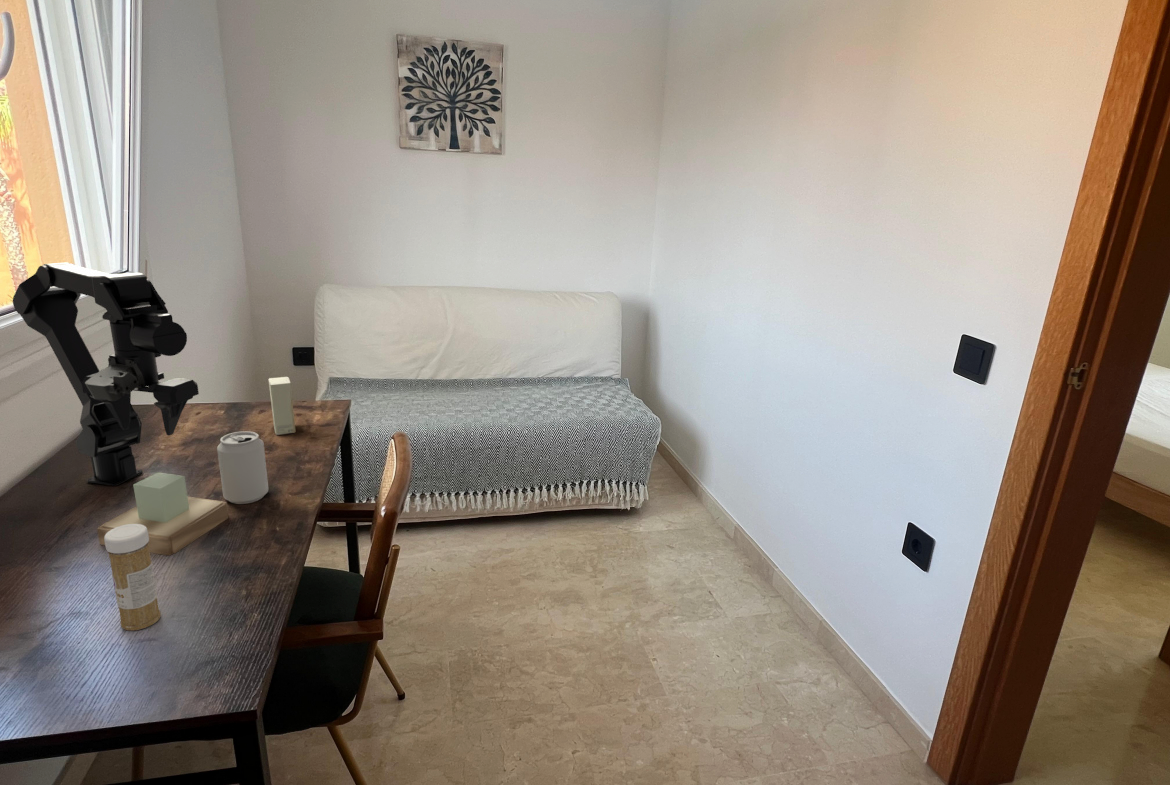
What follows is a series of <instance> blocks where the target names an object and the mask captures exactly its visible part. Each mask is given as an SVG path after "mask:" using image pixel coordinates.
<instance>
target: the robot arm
mask: <svg viewBox="0 0 1170 785" xmlns="http://www.w3.org/2000/svg"><path fill="white" fill-rule="evenodd" d="M81 295H85V296H88V297H92V298H93V299H94V303H95V304H97V305H98V306H99V307H102V308H104V309H105V310H106V311H105V312H104V313H103V315H102V317H101V318H102V319H103V320H104V321H105V320H106V321H109V327H110V331H111V332H110V334H111V338H112V344H113V350H114V354H110V355H108V359H107V362H108V364H107V365H108V366H107V367H105V368H103V369H101V370H100V369H99V368H98V365H97V363H96V362H95V359H94V358H93V356H92V354H91V353H90V351H89V349H88V346H87V345H86V343H85V341H84V340H83V337H82V336H81V334H80V331H79V330H78V328H77V326H76V323H77V322H76V321H77V317H78V314H79V309H78V306H77V302H78V301H79V299H80V297H81ZM12 304H13V307H14V310H15V312H17V314H19V315H20V317H21V318H22V319H23V321H24V322H25V324H26V325H27V327H29V328H30V329H32V330H34V331H36V332H37V333H38V334H41V335H42V336H44V337H45V339H46V340H47V341H48V344H49V346H50V347H51V349H52V351H53V353H54V355H55V357H56V359H57V360H58V363H59V364H60V367H61V368H62V370H63V372H64V373H65V375H66V377H67V379H68V381H69V382H70V384H71V386H72V388H73V390H74V392H75V393H76V396H77V398H78V400H79V401H80V403H81V406H82V409H81V415H80V419H79V423H80V426H81V428H82V430H81V431H80V433H79V435H78V437H77V438H76V440H75V446H76V448H77V450H78V452H79V453H80V454H82V455H86V456H88V457H90V461H91V468H92V471H93V476H92V477H91V476H90V477H89V478H87V479H86V482H87V483H93V484H97V485H106V486H113V487H116V486H118V485H121V484H123V483H125V482H126V481H129V480H131V479H134V478H135V477H138V476H140V475H141V474H143V470H142V469H137V466H136V461H135V460H136V459H135V454H133V450H132V446H133V445H138V444H140V443H141V436H142V426H143V424H142V421H141V418H140V417H139V414H138V413H137V412H136V410H135V409H134V407H133V406H132V403H131V402H132V401H131V398H132V396H131V395H132V394H131V392H133V391H134V392H135V391H136V392H144V393H149V394H150V393H152V395H153V398H154V399H155V401H156V402H154V403H153V405H154V406H156V407H157V408H158V409H160V411H161V412H160V413H161V417H162V422H163V427H164V430H165V434H166V435H167V436H171V435H174V433H175V430H176V428H177V425H178V423H179V420H180V418H181V415H182V412H183V410H184V409H185V406H186V405H187V403H188V401H189V400H192V399H194V398H193V397H196V396H198V395H199V394H200V393H199V386H198V383H197V382H196V381H195V380H193V379H188V378H182V377H181V378H179V377H174V378H172V379H169V380H166V381H163V382H160V380H163V379H165V373H164V372H159V371H158V365H157V359H156V358H159V357H161V356H165V357H173V356H176V355H178V354H179V353H181V352H182V351H183V350H184V349H185V347H186V345H187V341H188V335H187V333H186V330H185V329H184V328H183V326H182V325H180V323H178V322H174V321H173V315H172V314H169V309H167V307H166V302H165V301H164V300H163V298H162V297H161V296H160V294H159V293H158V292H157V290H156V288H155V286H154V285H153V283H152V281H151V280H149V279H148V277H147V276H146V275H145V274H144V273H142V272H127V273H126V272H124V273H107V272H103V271H100V270H95V269H90V268H87V267H83V266H79V265H76V264H74V263H70V262H56V263H54V262H53V263H43V265H40V266H38V268H37V270H36V271H35V273H34V274H32V275H31V276H29V277H28V278H27V279H25V280H24V281H22V282H21V283H20V284H19V285H18V286H17V288H16V291H15V293H14V295H13V298H12Z"/></svg>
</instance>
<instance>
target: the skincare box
mask: <svg viewBox="0 0 1170 785" xmlns="http://www.w3.org/2000/svg"><path fill="white" fill-rule="evenodd" d="M291 384H292V383H291V380H290V378H289V377H288V376H280V377H279V376H278V377H269V378H268V389H269V394H270V395H269V396H270V404H271V411H272V412H271V414H272V420H273V422H272V423H273V428H274V433H275V435H276V436H279V435H289V434H294V433H296V423H295V414H294V404H293V397H292V394H293V393H292V385H291Z"/></svg>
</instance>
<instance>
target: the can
mask: <svg viewBox="0 0 1170 785" xmlns="http://www.w3.org/2000/svg"><path fill="white" fill-rule="evenodd" d="M259 437H260V435H259V434H258V433H257V432H254V431H249V430H248V431H245V430H244V431H243V430H242V431H234V432H232V433H228V434H225V435H223V436H221V437H220V439H219V441H220V443H219V444H218V446H217V447H216V452H217V459H218V466H219V474H220V480H221V490H222V495H223V499H225V500H226V501H227V502H230V503H231V504H236V505H244V504H246V505H247V504H251V503H255V502H257V501H259V500H261V499H262V498H264V496H266V494H268V493H269V482H268V472H267V471H268V470H267V464H266V462H267V461H266V454H265V452H266V451H265V444H264V440H262V439H260V438H259Z"/></svg>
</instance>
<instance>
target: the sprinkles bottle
mask: <svg viewBox="0 0 1170 785" xmlns="http://www.w3.org/2000/svg"><path fill="white" fill-rule="evenodd" d="M104 541H105V545H104V546H105V550H106V551H107V553H108V556H109V562H110V567H111V572H112V574H111V575H112V576H111V577H112V580H113V586H114V592H115V598H116V603H117V606H118V612H119V618H120V621H119V622H120V623H119V624H120V627H121V628H122V629H123V630H127V631H139V630H142V629H145V628H148V627H151V626H153V625H154V624H155V623H156V622H158V621H159V620H160V617H161V616H162V613H161V611H160V609H159V607H160V606H159V603H158V597H157V596H158V593H157V592H158V591H157V585H156V578H155V573H154V567H153V566H154V565H153V561H152V557H151V553H150V552H149V545H148V544H149V536H148V531H147V528H146V526H144V525H141V524H127V525H122V526H119V527H116V528H114V529H112V530H110V531H109V532H107V533H106V535H105V537H104Z"/></svg>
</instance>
